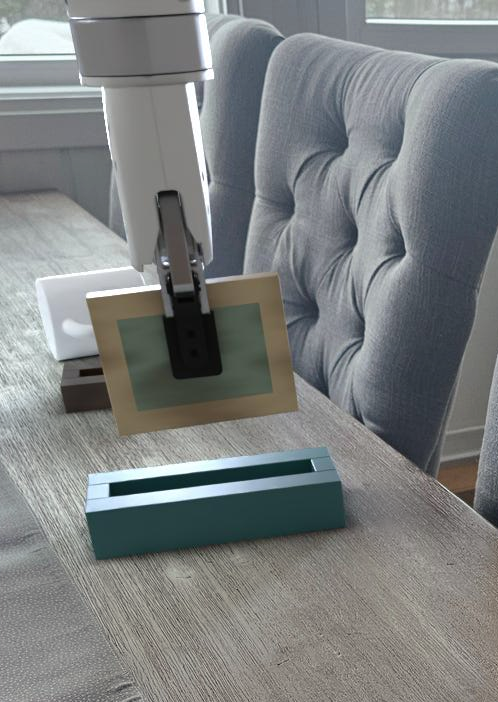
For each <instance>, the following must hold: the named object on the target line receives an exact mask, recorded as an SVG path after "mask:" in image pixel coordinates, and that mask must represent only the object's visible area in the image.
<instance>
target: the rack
mask: <svg viewBox="0 0 498 702" xmlns="http://www.w3.org/2000/svg"><path fill="white" fill-rule="evenodd" d="M59 387H60V392H61V396H62V402H63V405H64V410H65V413H66V414H71V413H73V414H74V413H80V412H90V411H91V412H93V411H99V410H100V411H101V410H111V409H112V405H111V401H110V397H109V393H108V389H107V385H106V380H105V376H104V372H103V368H102V364H101V360H93V361H83V362H76V363H74V362H73V363H72V362H71V363H65V364H64V363H63V367H62V374H61V379H60V386H59Z"/></svg>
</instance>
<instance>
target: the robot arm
mask: <svg viewBox="0 0 498 702" xmlns="http://www.w3.org/2000/svg"><path fill="white" fill-rule="evenodd" d="M64 4H65V9H66V14H67V18H68V19H69V20H68V24H69V28H70V33H71V38H72V43H73V49H74V53H75V60H76V63H77V69H78V73H79V79H80V85H81V86H82V87H87V88H101V94H102V103H103V113H104V120H105V127H106V133H107V140H108V145H109V146H108V147H109V152H110V158H111V162H112V167H113V173H114V178H115V185H116V189H117V194H118V199H119V205H120V211H121V215H122V221H123V226H124V231H125V237H126V242H127V248H128V253H129V258H130V265H131V267H133V268H134V269H135V270H136V271H138V272H140V273H144V272H145V270H144V269H145V268H144V266H145V265H146V266H147V265H153V261H154V257H155V263H156V274H157V276H158V280H159V285H160V287H161V292H162V298H163V303H164V309H165V314H166V315H164V316H162V319H163V325H164V330H165V336H166V341H167V347H168V352H169V358H170V363H171V369H172V374H173V377H174V378H175V379H178V380H181V379H190V378H200V377H209V376H218V375H220V374H221V373H222V371H223V368H222V362H221V355H220V349H219V343H218V336H217V330H216V323H215V317H214V311H210V309H209V303H208V296H207V290H206V284H205V279H206V278H205V273H204V272H205V267H207V266H208V265H210V263H212V261H213V260H214V253H213V233H212V229H213V228H212V215H211V205H210V192H209V185H208V184H209V183H208V175H207V166H206V158H205V152H204V144H203V136H202V130H201V122H200V116H199V108H198V102H197V101H198V100H197V95H196V88H195V83H200V82H206V81H210V80H214V79H215V74H214V68H213V61H212V53H211V46H210V39H209V33H208V25H207V19H206V14H205V12H206V9H205V3H204V0H64ZM198 294H199V296H198ZM171 297H172V300H171ZM199 300H200V302H199ZM172 303H173V305H172ZM200 308H201V309H200ZM174 313H175V314H174Z"/></svg>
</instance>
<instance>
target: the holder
mask: <svg viewBox="0 0 498 702" xmlns="http://www.w3.org/2000/svg"><path fill="white" fill-rule="evenodd" d="M86 483H87V484H86V496H85V506H84V507H85V509H84V515H85V519H86V524H87V528H88V533H89V537H90V541H91V545H92V549H93V554H94V559H95V560H96V561H99V560H106V559H107V560H108V559H114V558H116V559H117V558H122V557H130V556H137V555H138V556H139V555H145V554H152V553H159V552H167V551H175V550H182V549H190V548H198V547H204V546H205V547H206V546H213V545H221V544H227V543H234V542H235V543H236V542H241V541H249V540H256V539H257V540H258V539H264V538H272V537H279V536H288V535H294V534H303V533H310V532H317V531H324V530H332V529H339V528H346V527H347V525H346V524H347V523H346V513H345V502H344V493H343V481H342V479H341V477H340V475H339V472H338V469H337V468H336V465H335V462H334V460H333V458H332V456H331V453H330V450H329V448H328V446H326V445H324V446H316V447H307V448H300V449H291V450H283V451H282V450H281V451H274V452H265V453H264V452H263V453H257V454H248V455H240V456H232V457H224V458H214V459H206V460H198V461H190V462H189V461H188V462H181V463H180V462H179V463H172V464H165V465H164V464H163V465H156V466H148V467H147V466H146V467H138V468H130V469H122V470H113V471H104V472H96V473H88V474H87V482H86Z"/></svg>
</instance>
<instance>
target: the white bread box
mask: <svg viewBox="0 0 498 702" xmlns="http://www.w3.org/2000/svg"><path fill="white" fill-rule="evenodd" d="M34 283H35V284H34V285H35V294H36V300H37V305H38V309H39V315H40V318H41V322H42V325H43V329H44V333H45V336H46V339H47V343H48V346H49V349H50V351H51V353H52V355H53V357H54V359H55V360H56V361H65V360H71V359H77V358H83V357H90V356H96V355H99V351H98V347H97V343H96V339H95V335H94V331H93V327H92V322H91V318H90V314H89V310H88V306H87V302H86V295H87V293H94V292H102V291H111V290H119V289H128V288H136V287H144V286H147V285H146V282H145V280H144V277H143V275H142V272H138V271H136V270H135V269H134V268H133V267H132V266H126V267H125V266H124V267H118V268H110V269H102V270H95V271H94V270H93V271H87V272H85V271H84V272H78V273H71V274H64V275H55V276H47V277H40V278H36V279H35V282H34Z"/></svg>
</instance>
